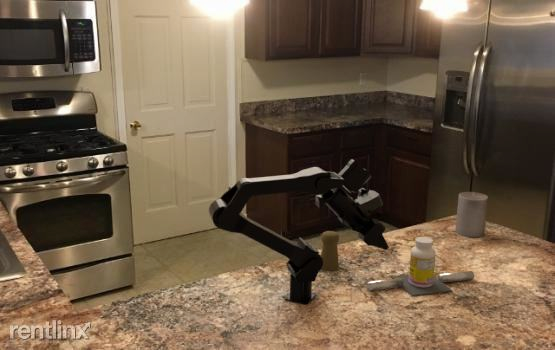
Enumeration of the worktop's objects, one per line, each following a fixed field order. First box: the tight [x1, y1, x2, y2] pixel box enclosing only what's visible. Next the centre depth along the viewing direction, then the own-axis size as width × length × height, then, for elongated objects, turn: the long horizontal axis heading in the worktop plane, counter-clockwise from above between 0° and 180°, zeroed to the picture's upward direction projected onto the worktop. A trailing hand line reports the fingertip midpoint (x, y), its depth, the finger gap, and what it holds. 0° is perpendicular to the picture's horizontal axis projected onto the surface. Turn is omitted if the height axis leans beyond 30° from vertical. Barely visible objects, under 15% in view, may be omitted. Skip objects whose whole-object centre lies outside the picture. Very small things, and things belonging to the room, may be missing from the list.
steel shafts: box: [365, 270, 475, 291], centre depth 155 cm, size 32×2×2 cm, turn 105°
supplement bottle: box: [408, 236, 437, 288], centre depth 154 cm, size 7×7×13 cm
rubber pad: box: [391, 274, 453, 297], centre depth 155 cm, size 12×12×1 cm
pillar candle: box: [454, 191, 489, 238], centre depth 195 cm, size 10×10×15 cm
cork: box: [320, 230, 340, 273], centre depth 164 cm, size 6×6×11 cm
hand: (379, 242), depth 149 cm, fingers open, 9 cm apart
